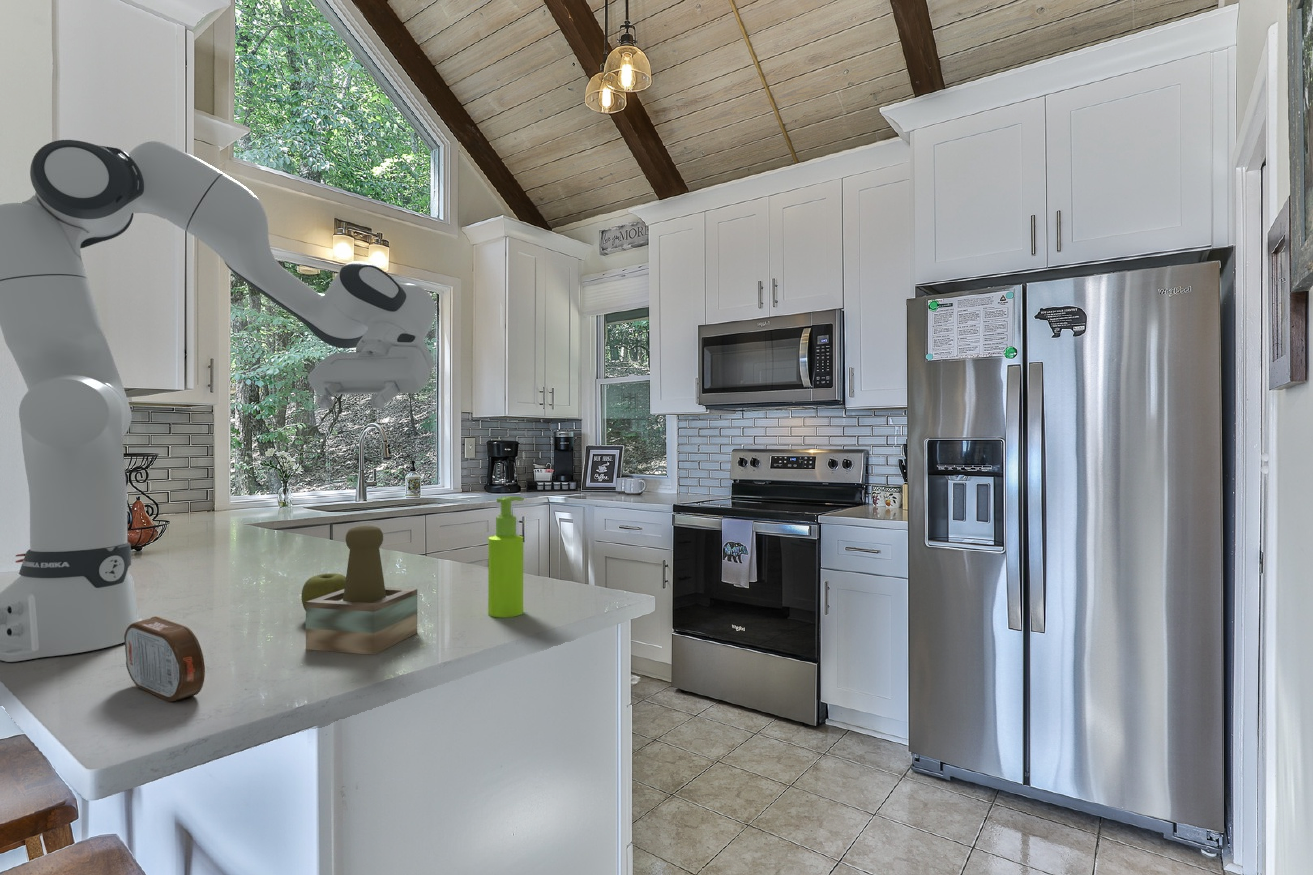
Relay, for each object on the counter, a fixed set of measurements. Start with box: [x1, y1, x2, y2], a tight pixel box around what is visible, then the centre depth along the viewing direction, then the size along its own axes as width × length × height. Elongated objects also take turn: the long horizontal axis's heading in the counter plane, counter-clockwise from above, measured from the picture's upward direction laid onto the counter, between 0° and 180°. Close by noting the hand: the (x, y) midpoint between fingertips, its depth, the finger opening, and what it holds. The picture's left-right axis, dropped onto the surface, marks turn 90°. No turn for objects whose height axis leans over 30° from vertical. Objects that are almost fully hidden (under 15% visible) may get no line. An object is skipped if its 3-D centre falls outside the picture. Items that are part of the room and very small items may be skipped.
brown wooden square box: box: [305, 586, 418, 655], centre depth 103 cm, size 11×11×7 cm
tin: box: [124, 616, 206, 703], centre depth 83 cm, size 15×3×8 cm, turn 58°
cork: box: [343, 525, 386, 603], centre depth 104 cm, size 6×6×11 cm
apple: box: [301, 573, 346, 612], centre depth 116 cm, size 8×8×7 cm
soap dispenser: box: [487, 496, 525, 619], centre depth 120 cm, size 6×7×20 cm
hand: (348, 405), depth 112 cm, fingers open, 8 cm apart
